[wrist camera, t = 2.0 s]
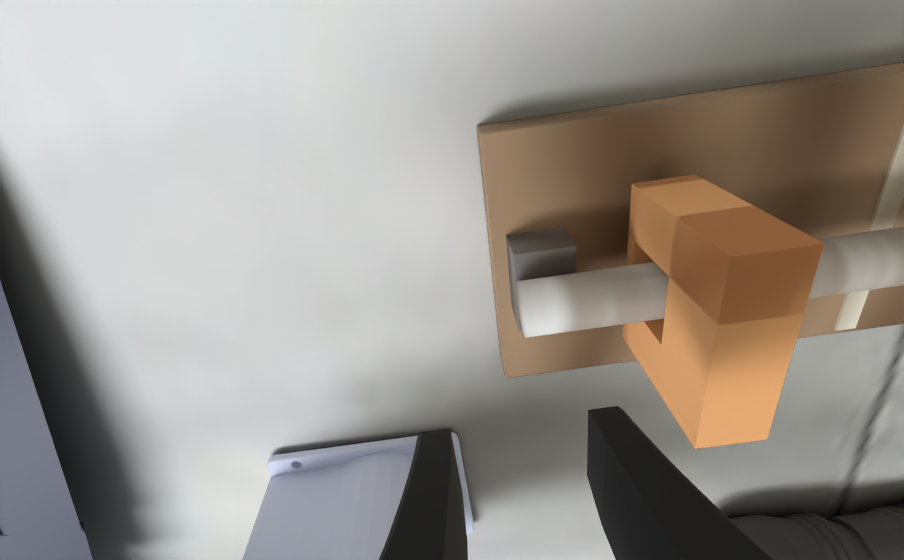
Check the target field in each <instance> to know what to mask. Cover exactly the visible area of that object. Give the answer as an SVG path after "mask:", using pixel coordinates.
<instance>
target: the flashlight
mask: <svg viewBox="0 0 904 560" xmlns="http://www.w3.org/2000/svg"><path fill="white" fill-rule="evenodd" d="M729 519H730V520H731V521H732V522H733V523H734V524H736V525H737V526H738V527H739V528H740V529H741V530H742V531H743V532H744V533H746V534H747V535H748V536H749V537H750V538H751V539H752V540H753V541H754V542H756V543H757V544H758V545H759V546H760V547H761V548H762V549H764V550H765V551H766V552H767V553H768V554H769V555H770V556H772V557H773V558H774V559H775V560H904V504H897V505H893V506H887V507H882V508H873V509H871V510H869V511H867V512H865V513H858V514H850V515H843V516H835V517H828V518H826V519H824V518H822V517H820V516H819V515H816V514H813V513H807V512H806V513H802V514H793V515H785V516H783V517H781V518H779V517H771V516H763V515H750V516H742V517H735V518H729Z"/></svg>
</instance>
